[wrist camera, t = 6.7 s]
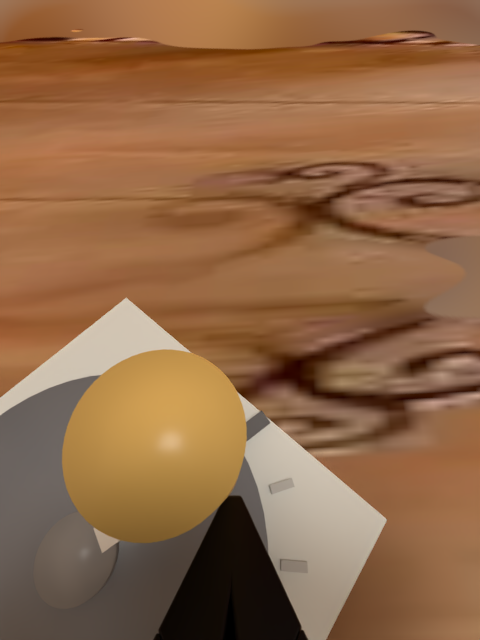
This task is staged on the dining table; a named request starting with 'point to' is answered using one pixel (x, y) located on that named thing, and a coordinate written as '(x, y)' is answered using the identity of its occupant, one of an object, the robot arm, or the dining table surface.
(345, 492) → the panel
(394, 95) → the dining table surface
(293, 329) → the dining table surface
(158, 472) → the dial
